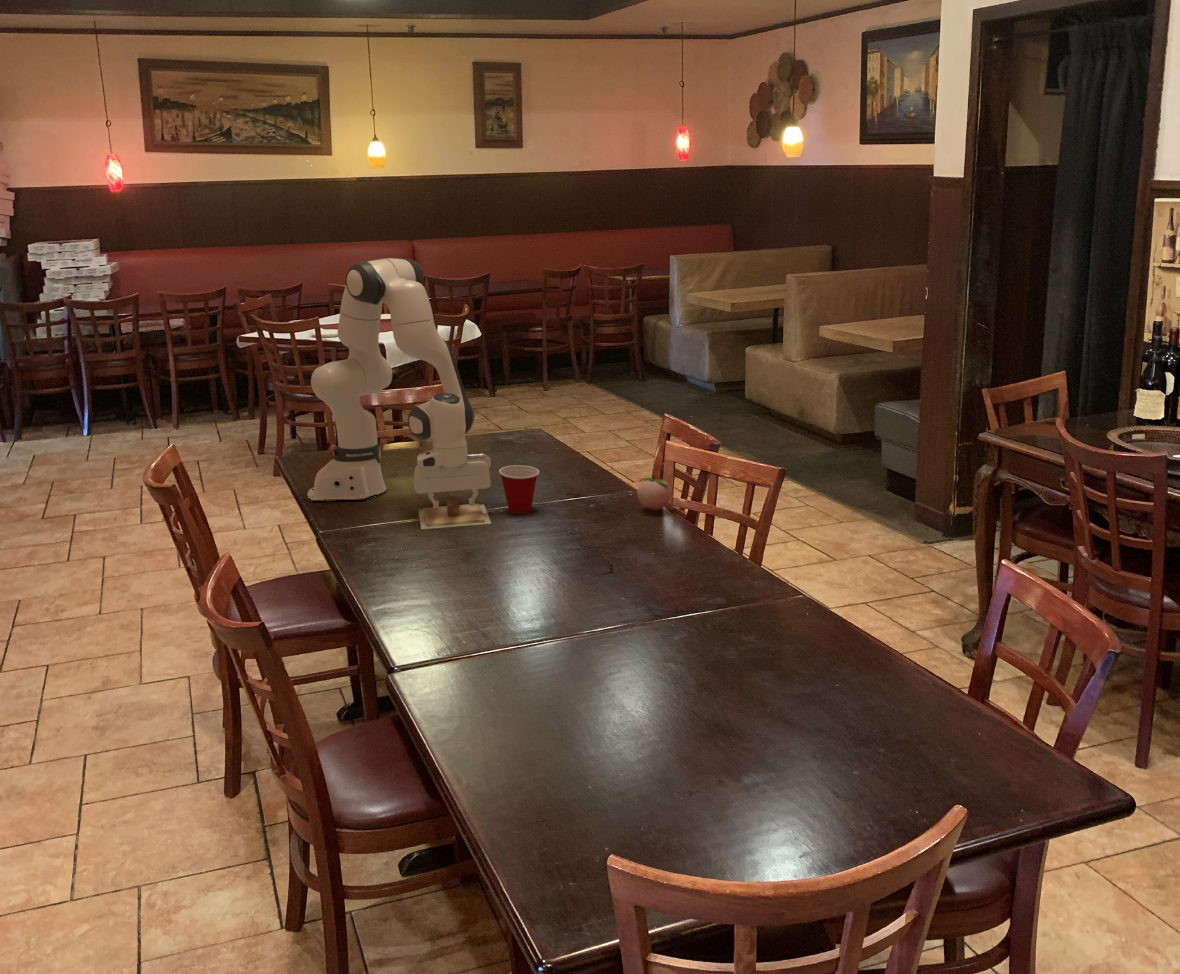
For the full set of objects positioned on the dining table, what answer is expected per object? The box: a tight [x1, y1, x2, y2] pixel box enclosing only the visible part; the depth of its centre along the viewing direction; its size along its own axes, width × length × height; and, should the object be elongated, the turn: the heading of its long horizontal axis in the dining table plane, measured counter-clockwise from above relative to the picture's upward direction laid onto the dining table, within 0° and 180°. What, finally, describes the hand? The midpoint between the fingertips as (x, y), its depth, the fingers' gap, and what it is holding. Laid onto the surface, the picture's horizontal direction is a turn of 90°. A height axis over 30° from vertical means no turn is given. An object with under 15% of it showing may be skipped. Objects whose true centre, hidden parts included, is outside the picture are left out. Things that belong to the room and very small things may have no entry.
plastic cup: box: [498, 464, 540, 515], centre depth 296 cm, size 11×11×12 cm
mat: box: [418, 504, 492, 530], centre depth 294 cm, size 18×18×1 cm
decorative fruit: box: [636, 474, 673, 512], centre depth 294 cm, size 9×8×10 cm
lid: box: [423, 495, 485, 527], centre depth 293 cm, size 15×15×5 cm
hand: (454, 506), depth 293 cm, fingers open, 8 cm apart
